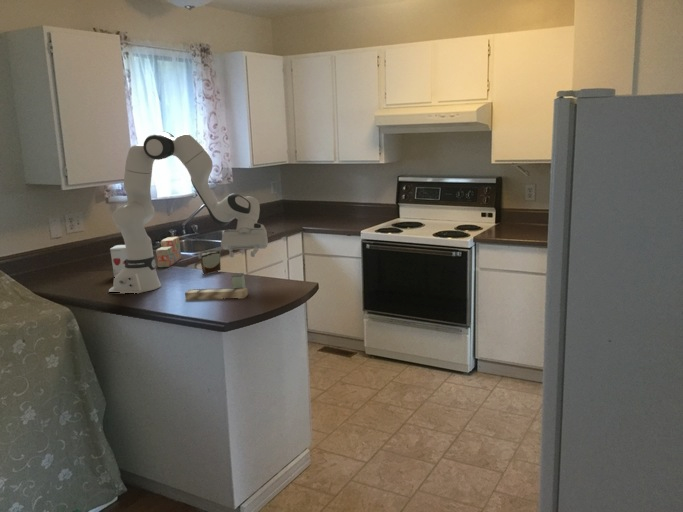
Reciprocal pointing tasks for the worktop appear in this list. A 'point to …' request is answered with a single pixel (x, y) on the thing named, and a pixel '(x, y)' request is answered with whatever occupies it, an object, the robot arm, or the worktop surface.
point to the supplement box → (118, 258)
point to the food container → (210, 261)
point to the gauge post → (238, 280)
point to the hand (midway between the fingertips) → (241, 256)
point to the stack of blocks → (168, 252)
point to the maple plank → (216, 293)
